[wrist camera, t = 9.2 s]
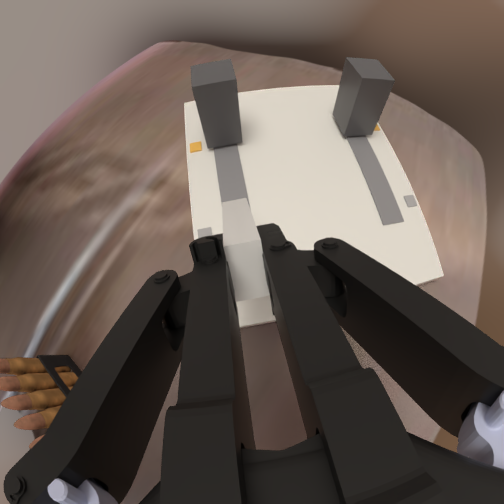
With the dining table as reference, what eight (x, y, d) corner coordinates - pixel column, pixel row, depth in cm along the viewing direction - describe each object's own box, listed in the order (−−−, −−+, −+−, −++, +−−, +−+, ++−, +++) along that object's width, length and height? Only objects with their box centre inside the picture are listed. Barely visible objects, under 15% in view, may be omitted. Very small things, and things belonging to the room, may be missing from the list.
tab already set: (371, 134, 26) (394, 80, 19) (343, 136, 26) (362, 78, 18) (359, 113, 27) (377, 59, 20) (332, 114, 27) (346, 57, 20)
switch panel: (433, 280, 23) (444, 275, 21) (211, 332, 23) (206, 331, 21) (351, 96, 32) (354, 84, 30) (187, 114, 31) (183, 101, 29)
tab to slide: (242, 142, 26) (236, 79, 18) (207, 148, 26) (191, 87, 18) (237, 119, 27) (230, 58, 20) (204, 125, 27) (190, 66, 19)
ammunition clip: (60, 366, 22) (-27, 361, 10) (68, 354, 22) (-21, 346, 11) (129, 443, 19) (53, 487, 8) (138, 432, 20) (62, 476, 9)
